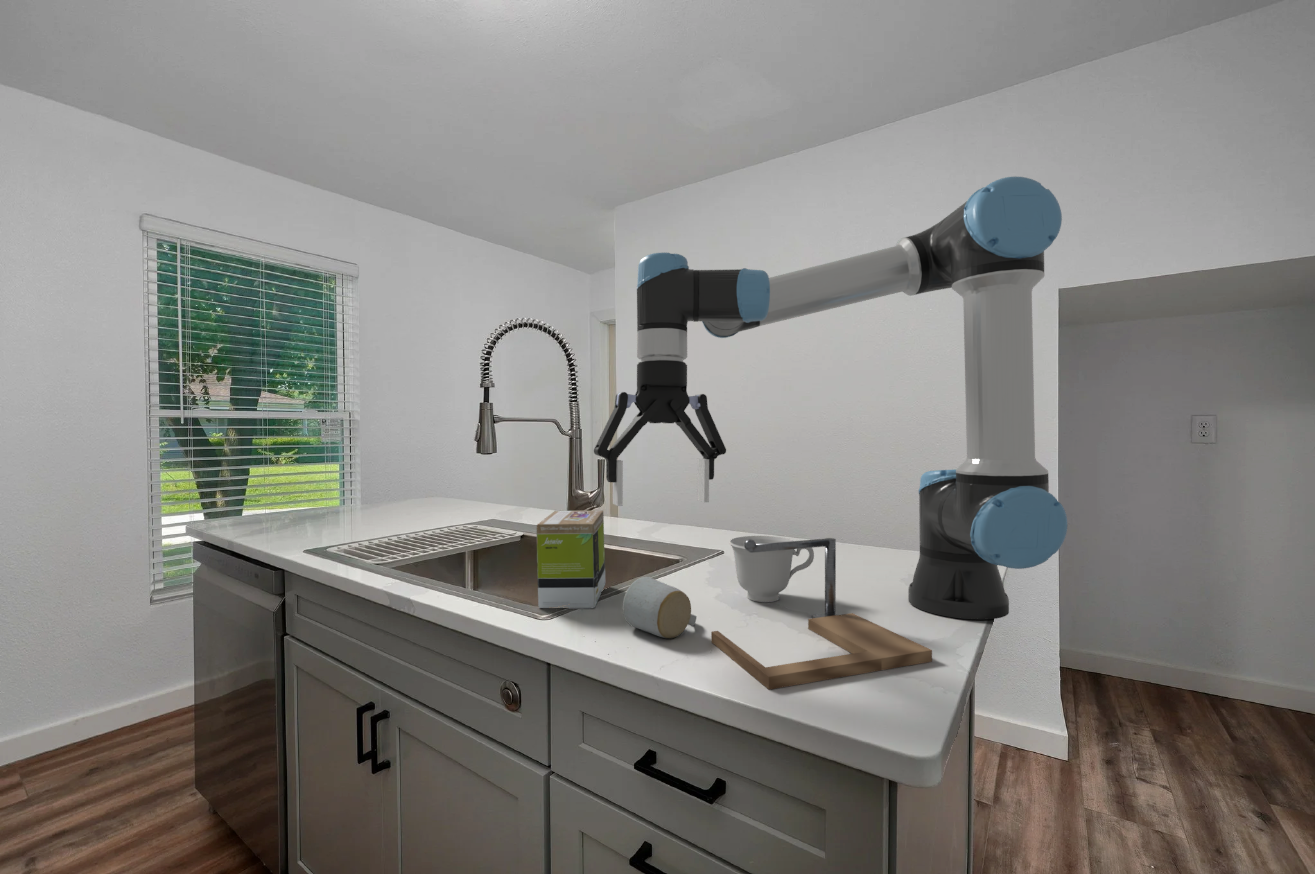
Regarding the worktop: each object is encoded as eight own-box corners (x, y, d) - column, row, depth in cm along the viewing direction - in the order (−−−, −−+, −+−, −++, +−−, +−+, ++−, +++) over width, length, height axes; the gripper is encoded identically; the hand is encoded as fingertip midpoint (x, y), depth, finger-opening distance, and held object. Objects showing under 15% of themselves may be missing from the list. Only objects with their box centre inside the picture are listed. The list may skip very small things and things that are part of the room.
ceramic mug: (659, 646, 81) (660, 591, 81) (621, 632, 87) (621, 580, 87) (709, 629, 89) (709, 578, 89) (670, 617, 95) (671, 569, 95)
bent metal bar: (833, 616, 94) (833, 530, 94) (849, 624, 90) (849, 534, 90) (738, 629, 88) (738, 537, 88) (751, 637, 85) (751, 542, 84)
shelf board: (852, 622, 91) (852, 613, 91) (931, 661, 76) (932, 650, 76) (711, 642, 83) (711, 631, 83) (768, 689, 68) (768, 676, 68)
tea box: (554, 585, 113) (554, 509, 113) (606, 585, 113) (605, 509, 113) (536, 609, 98) (535, 521, 98) (595, 609, 98) (595, 521, 98)
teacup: (820, 609, 98) (820, 549, 98) (730, 607, 99) (730, 548, 99) (808, 589, 110) (808, 536, 110) (728, 587, 111) (728, 535, 111)
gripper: (726, 366, 95) (725, 497, 95) (574, 360, 87) (574, 503, 87) (748, 362, 88) (747, 502, 88) (585, 354, 80) (584, 509, 80)
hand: (661, 503), depth 88 cm, fingers open, 13 cm apart
